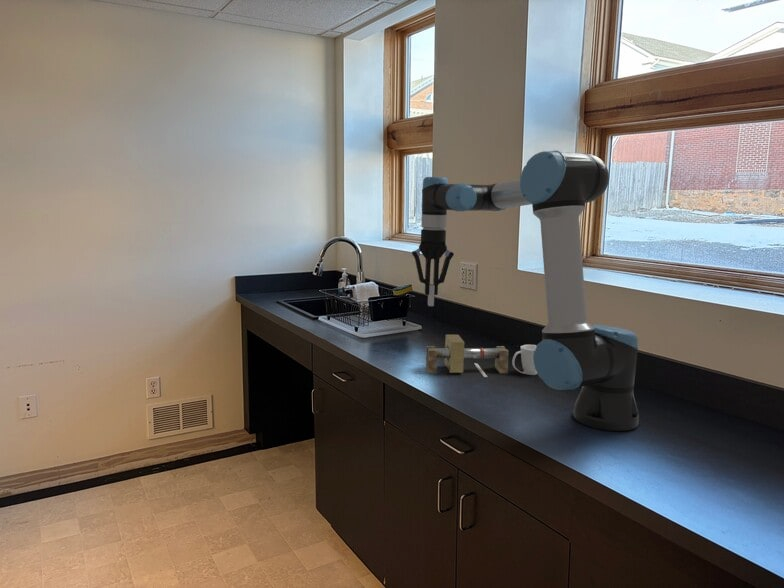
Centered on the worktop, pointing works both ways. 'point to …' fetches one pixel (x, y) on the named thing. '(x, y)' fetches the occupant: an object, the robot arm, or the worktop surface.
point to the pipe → (471, 352)
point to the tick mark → (480, 370)
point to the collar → (454, 353)
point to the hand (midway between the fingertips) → (430, 305)
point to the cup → (526, 359)
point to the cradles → (500, 362)
